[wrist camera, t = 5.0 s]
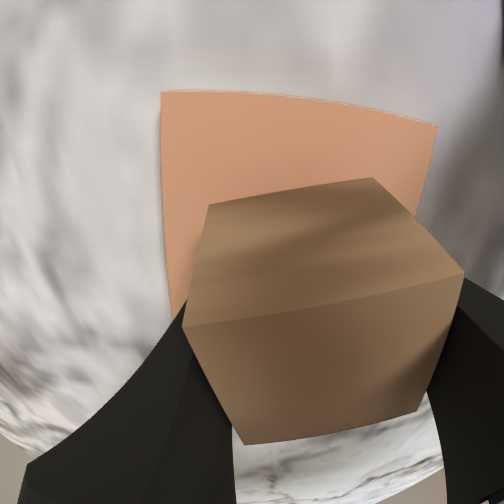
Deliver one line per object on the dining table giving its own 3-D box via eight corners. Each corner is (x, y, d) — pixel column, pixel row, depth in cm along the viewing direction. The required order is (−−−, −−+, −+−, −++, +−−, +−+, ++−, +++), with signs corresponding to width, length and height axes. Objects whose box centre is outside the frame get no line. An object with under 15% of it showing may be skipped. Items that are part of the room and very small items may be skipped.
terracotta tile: (425, 121, 11) (437, 126, 10) (369, 312, 16) (374, 325, 15) (167, 90, 10) (161, 92, 9) (176, 306, 15) (173, 320, 14)
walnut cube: (372, 177, 9) (465, 272, 5) (371, 301, 11) (416, 411, 7) (208, 204, 9) (181, 327, 5) (243, 324, 12) (244, 445, 8)
